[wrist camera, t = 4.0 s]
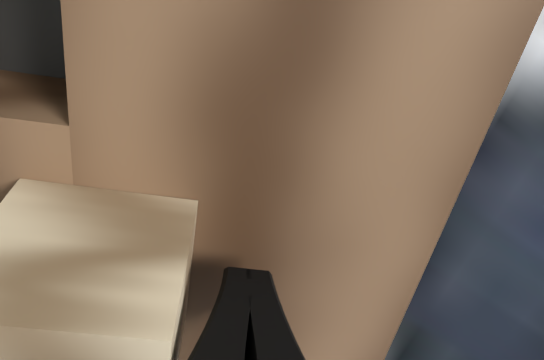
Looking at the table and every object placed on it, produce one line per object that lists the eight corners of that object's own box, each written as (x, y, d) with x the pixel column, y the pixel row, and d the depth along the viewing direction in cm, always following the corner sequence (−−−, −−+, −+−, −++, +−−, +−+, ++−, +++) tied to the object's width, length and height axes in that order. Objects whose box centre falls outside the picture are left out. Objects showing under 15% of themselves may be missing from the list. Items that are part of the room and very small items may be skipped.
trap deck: (513, -92, 12) (582, -81, 9) (329, 393, 22) (339, 459, 20) (-534, -299, 9) (-821, -360, 7) (-185, 354, 20) (-248, 424, 17)
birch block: (198, 200, 13) (171, 341, 9) (185, 317, 15) (160, 468, 11) (19, 178, 12) (-90, 317, 8) (36, 302, 15) (-43, 454, 11)
